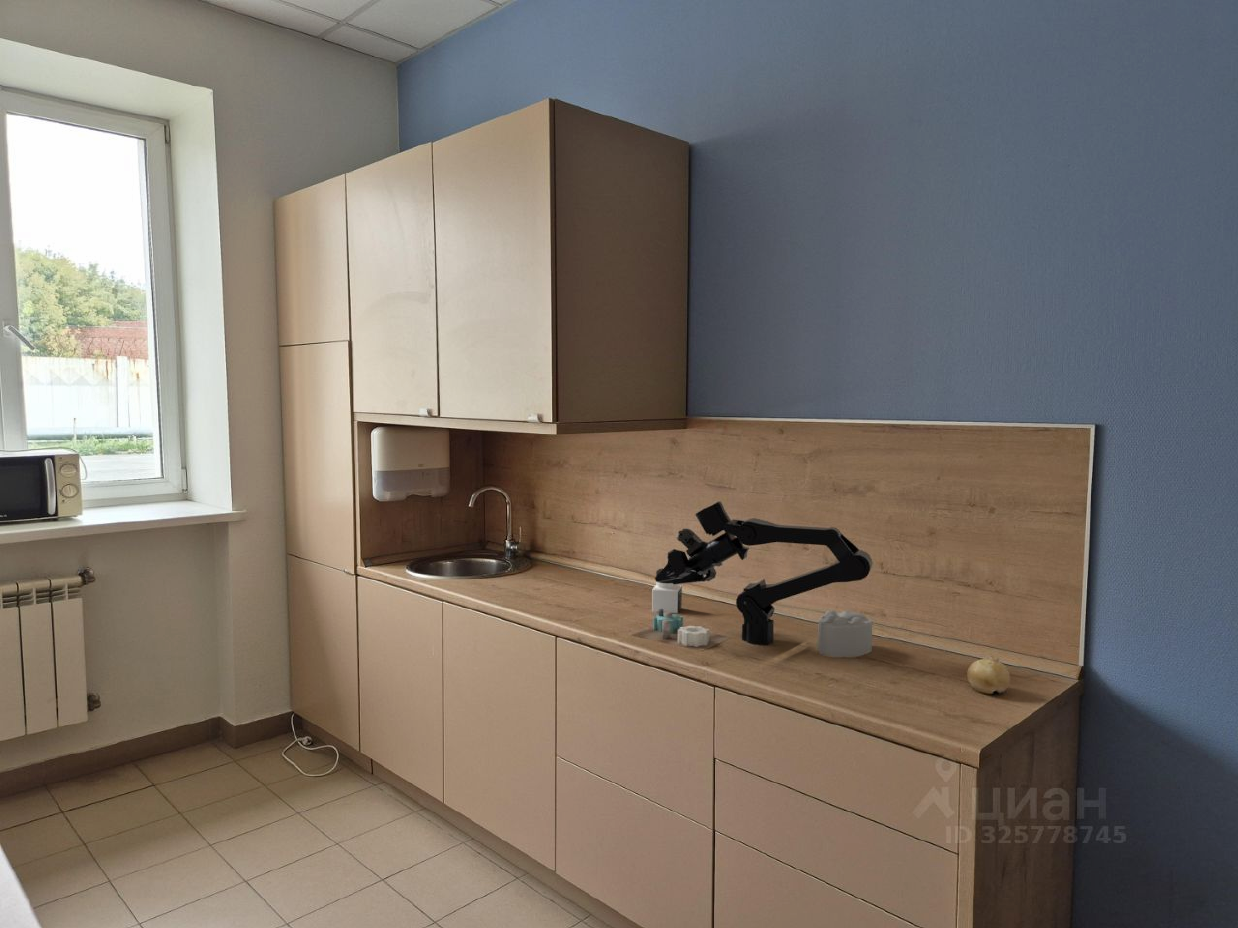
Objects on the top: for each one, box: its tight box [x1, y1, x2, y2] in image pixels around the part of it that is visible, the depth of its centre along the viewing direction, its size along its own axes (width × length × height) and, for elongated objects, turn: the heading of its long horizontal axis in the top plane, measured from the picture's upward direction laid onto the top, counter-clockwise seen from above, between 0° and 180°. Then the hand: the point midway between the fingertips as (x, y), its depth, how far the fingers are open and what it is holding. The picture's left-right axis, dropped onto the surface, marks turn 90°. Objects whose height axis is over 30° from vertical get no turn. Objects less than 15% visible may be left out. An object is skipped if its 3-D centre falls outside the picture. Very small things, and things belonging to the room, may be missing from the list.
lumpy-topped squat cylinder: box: [817, 610, 873, 658], centre depth 198 cm, size 10×13×9 cm
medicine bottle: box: [651, 567, 683, 614], centre depth 231 cm, size 7×7×12 cm
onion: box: [966, 653, 1011, 695], centre depth 171 cm, size 8×8×7 cm
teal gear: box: [652, 609, 684, 633], centre depth 211 cm, size 7×7×5 cm
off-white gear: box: [678, 625, 710, 647], centre depth 199 cm, size 7×7×3 cm
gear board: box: [630, 612, 732, 652], centre depth 204 cm, size 20×14×5 cm
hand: (664, 581), depth 209 cm, fingers open, 9 cm apart
